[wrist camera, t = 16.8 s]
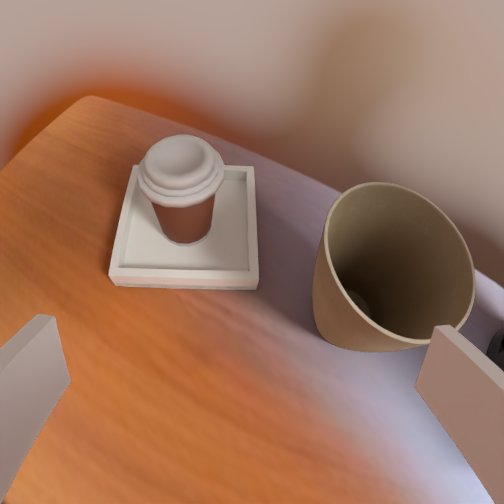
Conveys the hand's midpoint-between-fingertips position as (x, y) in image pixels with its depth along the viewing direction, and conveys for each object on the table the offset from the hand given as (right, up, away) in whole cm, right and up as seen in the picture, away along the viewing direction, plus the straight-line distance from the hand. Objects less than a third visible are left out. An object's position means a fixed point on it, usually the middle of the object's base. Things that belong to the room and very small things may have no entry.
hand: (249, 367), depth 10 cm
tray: (-8, +7, +31) cm, 33 cm away
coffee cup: (-8, +7, +31) cm, 32 cm away
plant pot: (+11, -4, +28) cm, 30 cm away
